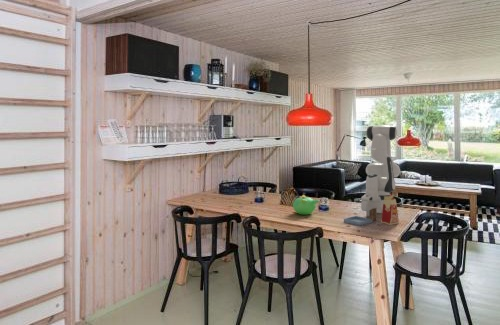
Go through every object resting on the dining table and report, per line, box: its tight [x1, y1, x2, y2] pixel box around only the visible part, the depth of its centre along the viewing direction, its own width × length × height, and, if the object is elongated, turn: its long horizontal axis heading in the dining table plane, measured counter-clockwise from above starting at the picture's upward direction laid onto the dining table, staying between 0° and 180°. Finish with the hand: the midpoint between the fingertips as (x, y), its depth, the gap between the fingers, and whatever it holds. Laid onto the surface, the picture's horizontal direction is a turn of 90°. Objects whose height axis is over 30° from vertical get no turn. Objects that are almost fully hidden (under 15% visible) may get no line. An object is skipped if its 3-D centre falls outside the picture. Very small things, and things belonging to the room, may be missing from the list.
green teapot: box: [292, 194, 320, 215], centre depth 283 cm, size 18×17×15 cm
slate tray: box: [343, 215, 373, 227], centre depth 258 cm, size 14×14×2 cm
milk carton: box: [381, 195, 400, 226], centre depth 256 cm, size 9×9×20 cm
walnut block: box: [365, 208, 377, 222], centre depth 264 cm, size 5×5×9 cm
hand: (371, 215), depth 264 cm, fingers closed on walnut block, 5 cm apart
